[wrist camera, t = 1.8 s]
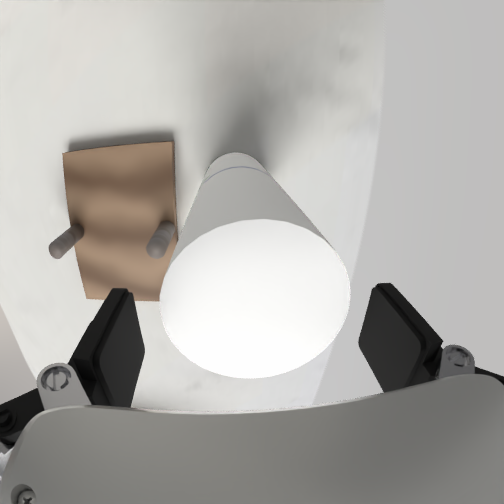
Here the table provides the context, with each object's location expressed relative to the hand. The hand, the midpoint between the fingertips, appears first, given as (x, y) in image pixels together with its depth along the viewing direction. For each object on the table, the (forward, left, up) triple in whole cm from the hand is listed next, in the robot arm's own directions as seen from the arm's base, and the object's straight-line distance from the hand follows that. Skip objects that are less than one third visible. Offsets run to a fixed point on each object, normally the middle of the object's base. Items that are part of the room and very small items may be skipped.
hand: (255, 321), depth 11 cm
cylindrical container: (0, 0, -25) cm, 25 cm away
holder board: (+5, -14, -25) cm, 29 cm away
